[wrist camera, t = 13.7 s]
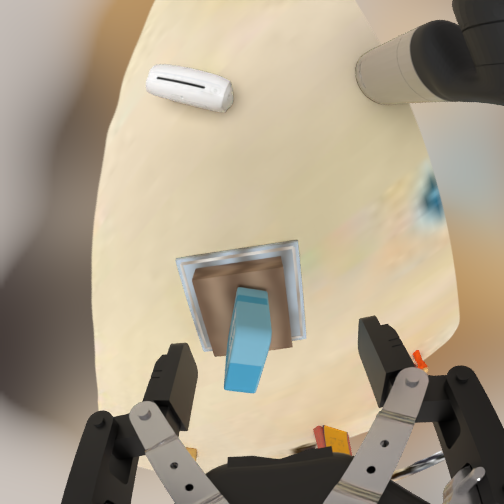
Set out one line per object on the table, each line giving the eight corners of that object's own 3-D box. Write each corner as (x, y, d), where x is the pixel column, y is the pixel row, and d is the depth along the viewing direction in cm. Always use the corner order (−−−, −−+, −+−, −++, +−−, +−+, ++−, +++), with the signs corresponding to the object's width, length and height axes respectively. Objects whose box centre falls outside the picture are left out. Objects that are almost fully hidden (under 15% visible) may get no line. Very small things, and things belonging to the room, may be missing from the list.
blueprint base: (297, 239, 49) (301, 251, 44) (305, 336, 57) (309, 352, 52) (176, 258, 50) (170, 271, 45) (204, 348, 58) (201, 365, 53)
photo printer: (238, 89, 39) (234, 75, 28) (229, 116, 41) (222, 112, 29) (172, 73, 38) (145, 56, 26) (163, 99, 39) (134, 92, 28)
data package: (238, 282, 46) (235, 332, 35) (267, 287, 47) (273, 336, 36) (227, 342, 51) (223, 394, 40) (253, 345, 51) (254, 398, 40)
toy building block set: (313, 428, 71) (320, 471, 58) (414, 346, 60) (440, 389, 47) (342, 437, 74) (352, 476, 61) (437, 362, 63) (460, 401, 50)
